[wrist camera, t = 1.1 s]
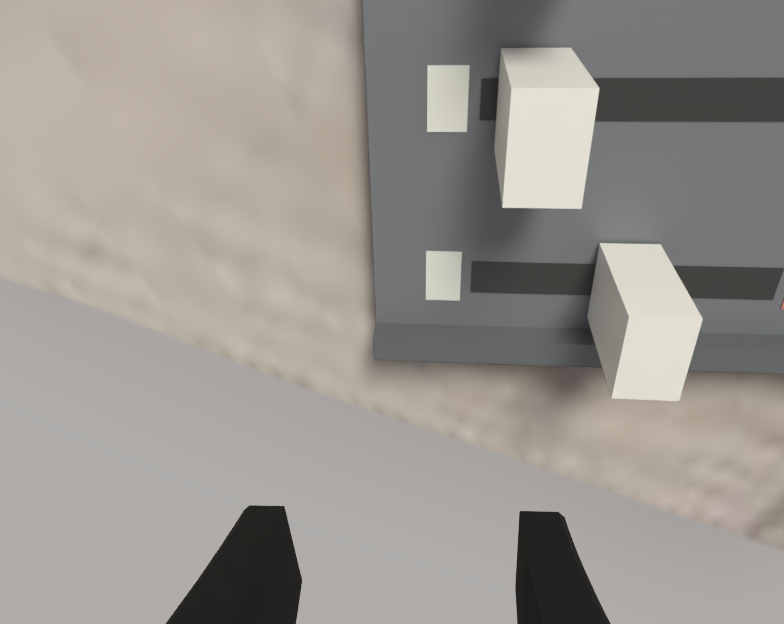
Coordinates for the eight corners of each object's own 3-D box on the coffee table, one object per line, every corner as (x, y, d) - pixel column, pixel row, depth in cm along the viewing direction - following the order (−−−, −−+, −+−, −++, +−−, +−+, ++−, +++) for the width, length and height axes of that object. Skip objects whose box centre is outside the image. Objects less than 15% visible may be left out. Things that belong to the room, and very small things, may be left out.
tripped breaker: (660, 244, 17) (702, 318, 14) (643, 318, 19) (679, 401, 16) (600, 242, 17) (629, 316, 14) (587, 316, 19) (611, 398, 16)
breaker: (571, 47, 15) (599, 88, 12) (558, 149, 16) (581, 208, 13) (500, 48, 15) (511, 88, 12) (494, 148, 16) (502, 207, 13)
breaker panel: (1244, -346, 12) (1377, -385, 10) (900, 337, 20) (941, 379, 18) (356, -299, 13) (342, -327, 11) (380, 322, 21) (374, 359, 19)
